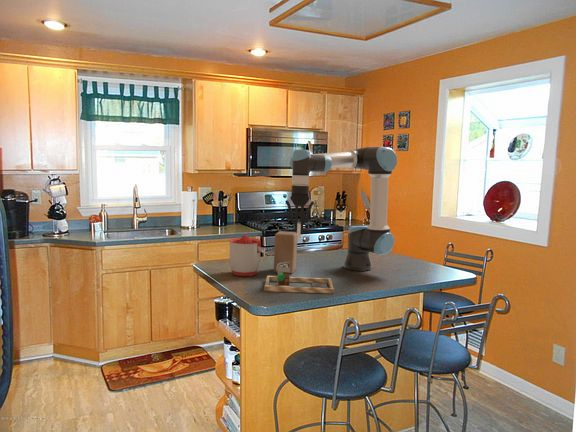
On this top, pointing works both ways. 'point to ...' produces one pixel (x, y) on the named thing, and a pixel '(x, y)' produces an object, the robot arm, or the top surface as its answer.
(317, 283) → the trap channel
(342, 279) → the top surface
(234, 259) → the citrus juicer
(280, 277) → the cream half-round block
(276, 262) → the block
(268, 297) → the top surface
